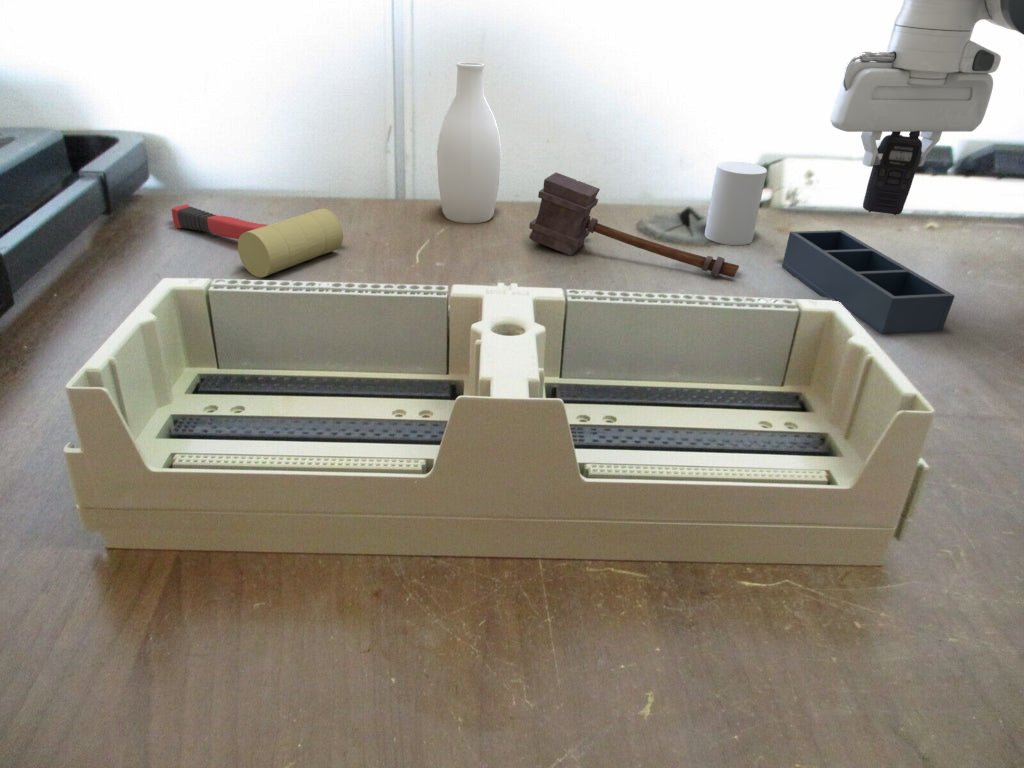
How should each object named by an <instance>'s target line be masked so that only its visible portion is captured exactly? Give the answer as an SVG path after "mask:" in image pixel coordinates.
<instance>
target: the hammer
mask: <svg viewBox="0 0 1024 768" xmlns="http://www.w3.org/2000/svg"><path fill="white" fill-rule="evenodd" d="M600 190H601V189H600V187H597V186H593V185H591V184H589V183H586V182H584V181H581V180H577V179H575V178H572V177H570V176H567V175H564V174H562V173H559V172H554V173H552V174H550V175H549V176H547V177H546V178H544V180H543V188H542V189H540V190H539V191H538V193H537V194H538V195H537V196H538V197H537V198H539V199H541V200H540V204H539V208H538V213H537V216H536V217H535V218H534V219H532V220H531V221H530V222H529V225H528V229H530V230H531V232H530V235H529V237H528V239H530V240H531V241H533V242H535V243H538V244H541V245H543V246H545V247H547V248H550V249H553V250H555V251H558V252H560V253H563V254H565V255H567V256H569V257H570V256H572V255H573V254H575V253H576V252H577V251H578V250H579V249H580V248H581V247H582V246H584V245H585V239H587V238H588V237H589V235H590V234H594V233H597V234H600V235H602V236H605V237H608V238H610V239H613V240H615V241H618V242H620V243H624V244H627V245H629V246H632V247H635V248H638V249H640V250H644V251H647V252H649V253H653V254H656V255H658V256H662V257H665V258H667V259H671V260H674V261H676V262H680V263H682V264H686V265H689V266H693V267H695V268H699V269H701V270H702V271H704V272H708V271H709V272H710V274H711V275H713V276H714V277H715V278H718V276H719V274H720V275H723V276H727V277H731V278H735V276H736V275H737V272H738V270H739V268H740V265H738V264H734V263H731V262H727V261H725V258H724V257H722V256H720V255H719V256H717V258H716V259H714V257H713V256H711V255H707V256H702V255H699V254H697V253H696V254H695V253H691V252H688V251H685V250H681V249H677V248H674V247H671V246H667V245H664V244H661V243H658V242H654V241H651V240H648V239H645V238H641V237H639V236H635V235H634V234H633V235H632V234H630V233H626V232H623V231H621V230H617V229H616V228H613V227H609V226H606V225H604V224H601V223H598V222H599V219H597V218H595V217H591V211H592V209H593V208H594V207H596V206H597V205H598V203H599V198H597V197H598V194H599V192H600Z"/></svg>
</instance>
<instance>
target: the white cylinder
mask: <svg viewBox="0 0 1024 768" xmlns="http://www.w3.org/2000/svg"><path fill="white" fill-rule="evenodd" d="M767 173H768V169H767V168H766V167H764V166H762V165H759V164H757V163H751V162H744V161H721V162H718V163H717V164H716V166H715V172H714V177H713V184H712V189H711V190H712V191H711V195H710V201H709V207H708V212H707V218H706V224H705V230H704V237H705V238H706V239H707V240H709V241H712V242H713V243H718V244H722V245H726V246H746V245H749V244H751V243H752V242H753V240H754V235H755V231H756V224H757V221H758V216H759V211H760V205H761V201H762V196H763V193H764V187H765V182H766V177H767Z"/></svg>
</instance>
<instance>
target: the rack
mask: <svg viewBox="0 0 1024 768" xmlns="http://www.w3.org/2000/svg"><path fill="white" fill-rule="evenodd" d="M786 243H787V244H786V246H785V247H786V248H785V251H784V256H783V260H782V265H781V267H782V268H783V269H784V270H785V271H787V272H788V273H790V274H791V275H792V276H794V277H795V278H797V279H798V280H799V281H801V282H802V283H803V284H804V285H805V286H807V287H808V288H810V289H811V290H813V291H814V292H815V293H817V294H818V295H819V296H821V297H822V298H831V299H832V300H834V301H835V302H837V301H839V302H841V303H842V304H843V305H844V306H845V307H846V308H845V307H844V306H843V307H844V308H845V309H846V310H847V311H850V312H851V313H852V314H853V315H855V316H856V317H857V318H859V319H860V320H862V321H863V322H864V323H866V324H867V325H868V326H870V327H871V328H873V330H875V331H877V332H878V333H879V334H881V335H889V334H890V335H891V334H907V333H922V332H923V333H925V332H941V331H943V330H944V327H945V324H946V321H947V319H948V316H949V313H950V310H951V307H952V305H953V302H954V299H955V296H956V295H955V294H952V293H951V292H949V291H948V290H946V289H944V288H942V287H941V286H940V285H937V284H936V283H935V282H933V281H930V279H927V278H926V277H924V276H922V275H921V274H919V273H917V272H915V271H913V270H912V269H910V268H908V267H906V266H905V265H904V264H901V263H900V262H898V261H896V260H895V259H892V258H891V257H889V256H888V255H886V254H885V253H883V252H881V251H879V250H877V249H875V248H874V247H872V246H870V245H869V244H867V243H865V242H864V241H862V240H860V239H858V238H856V237H855V236H853V235H851V234H850V233H849V232H846V231H845V230H843V229H838V230H837V229H836V230H835V229H833V230H832V229H831V230H801V231H799V230H797V231H789V234H788V237H787V242H786Z"/></svg>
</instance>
